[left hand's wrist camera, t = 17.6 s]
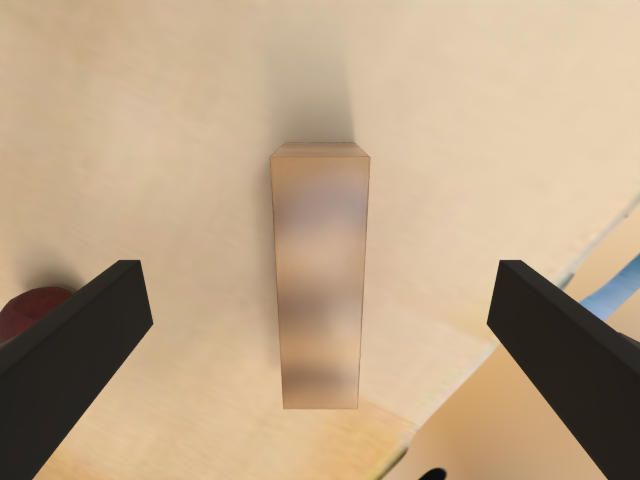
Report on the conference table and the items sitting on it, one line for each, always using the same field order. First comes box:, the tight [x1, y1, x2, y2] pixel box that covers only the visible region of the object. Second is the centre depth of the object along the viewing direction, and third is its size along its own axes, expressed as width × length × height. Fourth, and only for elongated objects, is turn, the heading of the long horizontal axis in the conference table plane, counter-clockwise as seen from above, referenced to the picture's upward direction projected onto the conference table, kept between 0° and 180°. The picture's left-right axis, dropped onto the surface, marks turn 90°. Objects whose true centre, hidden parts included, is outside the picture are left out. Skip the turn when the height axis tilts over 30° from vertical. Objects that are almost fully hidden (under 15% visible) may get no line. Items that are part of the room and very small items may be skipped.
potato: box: [0, 287, 73, 344], centre depth 36 cm, size 7×8×7 cm
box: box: [270, 143, 370, 409], centre depth 32 cm, size 23×7×11 cm, turn 0°
